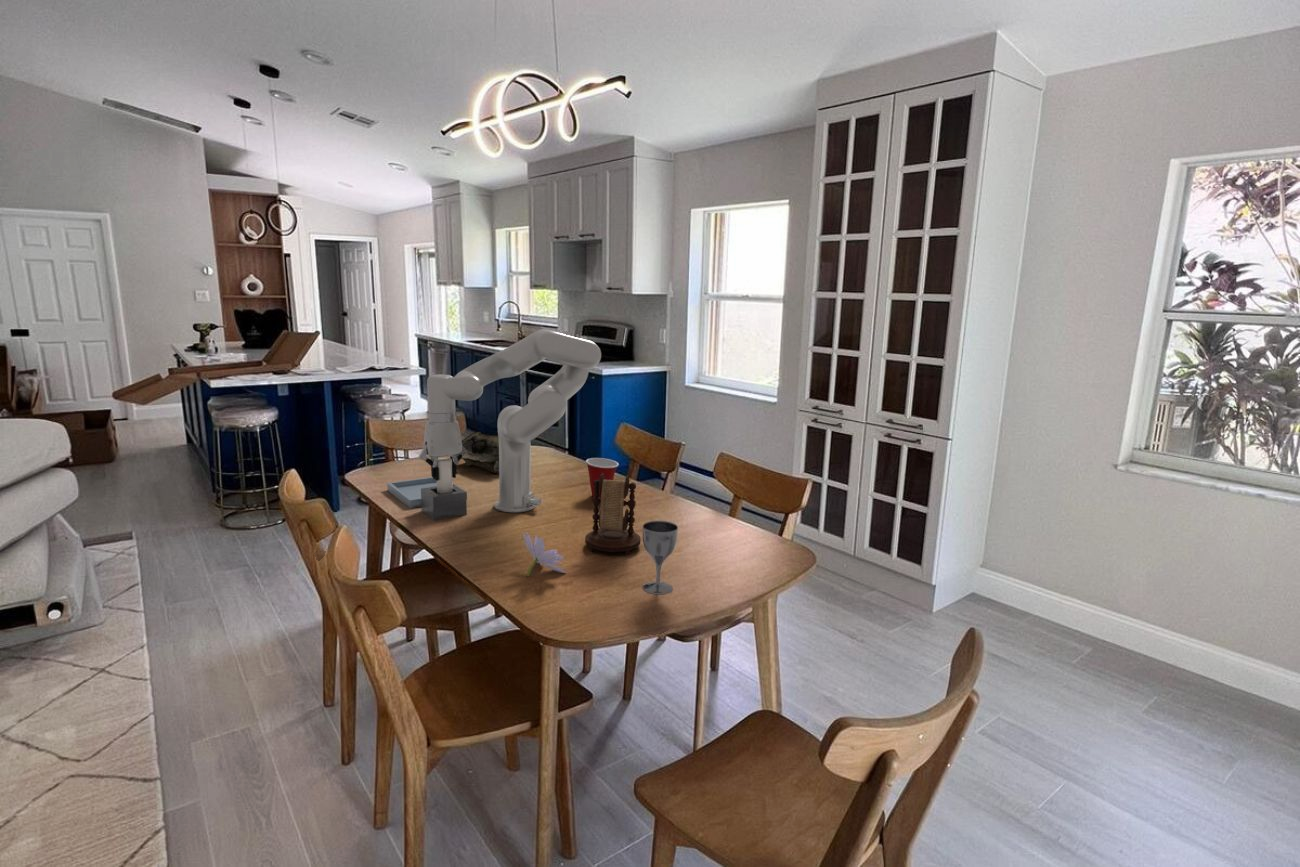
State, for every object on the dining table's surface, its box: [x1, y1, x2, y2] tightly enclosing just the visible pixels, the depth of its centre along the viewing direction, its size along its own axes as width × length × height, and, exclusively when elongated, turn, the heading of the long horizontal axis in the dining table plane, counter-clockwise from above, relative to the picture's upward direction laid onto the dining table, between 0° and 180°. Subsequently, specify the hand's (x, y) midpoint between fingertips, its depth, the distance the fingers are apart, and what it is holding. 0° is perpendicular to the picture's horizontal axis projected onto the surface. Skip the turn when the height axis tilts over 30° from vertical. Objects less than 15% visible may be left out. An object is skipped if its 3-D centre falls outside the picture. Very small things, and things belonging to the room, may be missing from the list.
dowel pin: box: [437, 457, 454, 494], centre depth 204 cm, size 4×4×12 cm
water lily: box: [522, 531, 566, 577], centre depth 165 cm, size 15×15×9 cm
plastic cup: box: [585, 457, 619, 499], centre depth 227 cm, size 11×11×12 cm
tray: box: [386, 476, 468, 509], centre depth 222 cm, size 22×18×2 cm
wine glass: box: [641, 520, 679, 595], centre depth 158 cm, size 8×8×15 cm
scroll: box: [584, 473, 642, 556], centre depth 182 cm, size 15×15×20 cm
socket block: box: [420, 483, 468, 521], centre depth 205 cm, size 10×10×7 cm
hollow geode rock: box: [460, 431, 499, 475], centre depth 256 cm, size 28×13×15 cm
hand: (444, 477), depth 204 cm, fingers closed on dowel pin, 4 cm apart
